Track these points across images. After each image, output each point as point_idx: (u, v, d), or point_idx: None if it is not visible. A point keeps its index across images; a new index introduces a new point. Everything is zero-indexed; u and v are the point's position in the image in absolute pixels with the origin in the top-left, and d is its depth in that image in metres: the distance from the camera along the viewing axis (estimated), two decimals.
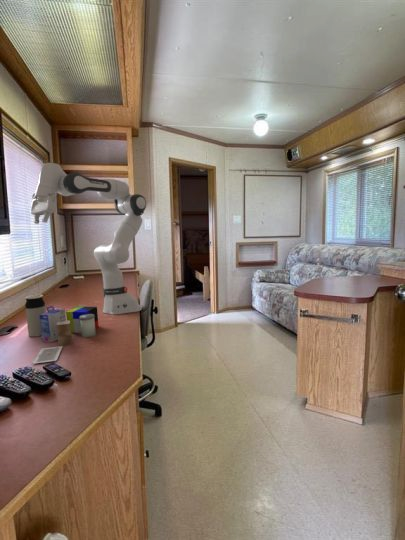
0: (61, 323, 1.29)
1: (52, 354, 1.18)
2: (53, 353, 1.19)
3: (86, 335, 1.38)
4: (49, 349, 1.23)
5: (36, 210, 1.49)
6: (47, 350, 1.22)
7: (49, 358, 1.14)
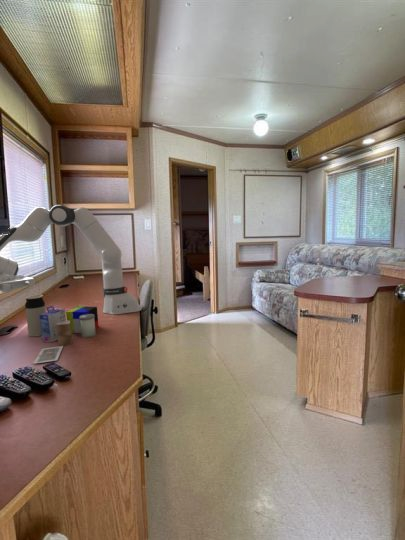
0: (61, 323, 1.29)
1: (52, 354, 1.18)
2: (53, 353, 1.19)
3: (86, 335, 1.38)
4: (50, 349, 1.23)
5: (20, 287, 1.55)
6: (48, 350, 1.22)
7: (49, 358, 1.14)
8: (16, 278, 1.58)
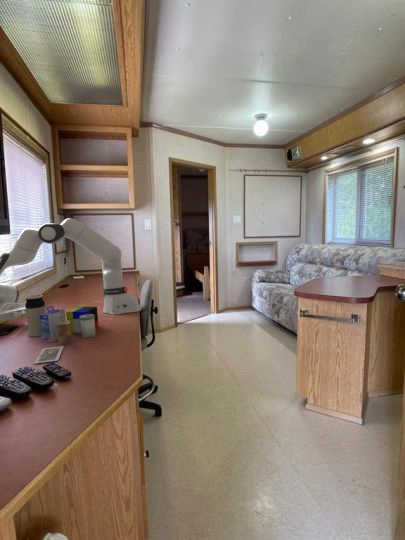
0: (61, 323, 1.29)
1: (53, 354, 1.18)
2: (54, 353, 1.19)
3: (86, 335, 1.38)
4: (50, 349, 1.23)
5: None
6: (48, 350, 1.22)
7: (50, 358, 1.14)
8: (19, 306, 1.60)
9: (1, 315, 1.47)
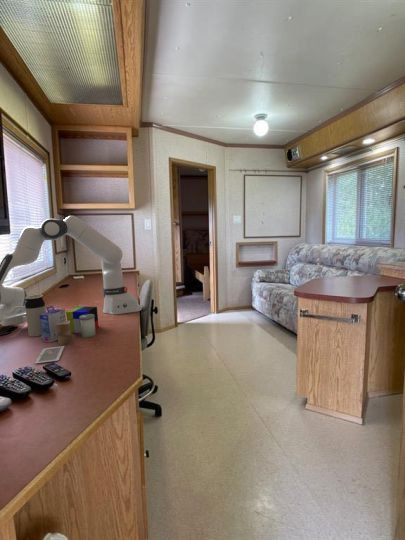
0: (61, 323, 1.29)
1: (53, 354, 1.18)
2: (55, 353, 1.19)
3: (86, 335, 1.38)
4: (51, 349, 1.23)
5: None
6: (49, 350, 1.22)
7: (51, 358, 1.14)
8: None
9: (10, 319, 1.43)
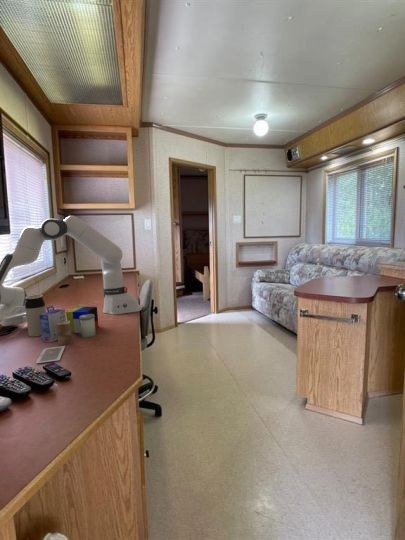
0: (61, 323, 1.29)
1: (54, 354, 1.18)
2: (55, 353, 1.19)
3: (86, 335, 1.38)
4: (52, 349, 1.23)
5: None
6: (50, 350, 1.22)
7: (52, 358, 1.14)
8: None
9: (10, 319, 1.43)
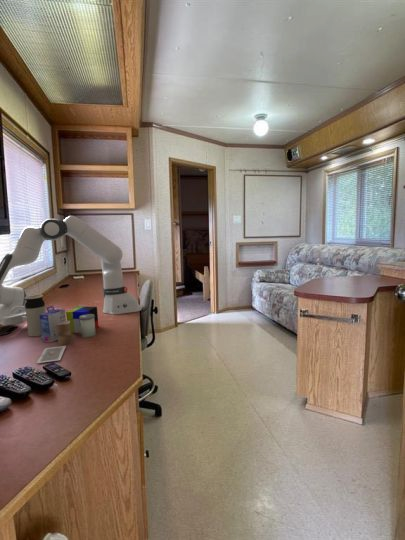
0: (61, 323, 1.29)
1: (55, 354, 1.18)
2: (56, 353, 1.19)
3: (86, 335, 1.38)
4: (53, 349, 1.23)
5: None
6: (51, 350, 1.22)
7: (52, 358, 1.14)
8: None
9: (10, 319, 1.43)
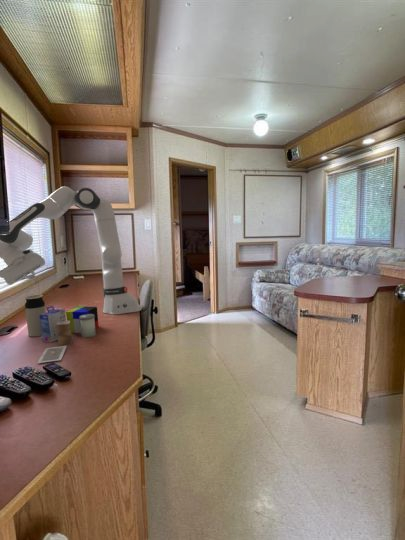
0: (61, 323, 1.29)
1: (56, 354, 1.18)
2: (57, 353, 1.19)
3: (86, 335, 1.38)
4: (53, 349, 1.24)
5: None
6: (51, 350, 1.23)
7: (53, 358, 1.14)
8: (26, 258, 1.58)
9: (13, 280, 1.51)
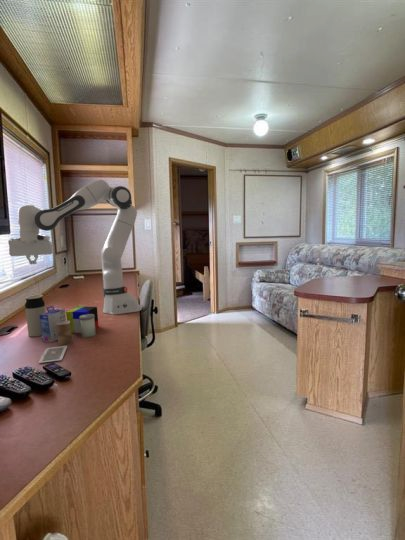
0: (61, 323, 1.29)
1: (57, 353, 1.18)
2: (58, 353, 1.19)
3: (86, 335, 1.38)
4: (54, 348, 1.24)
5: None
6: (52, 349, 1.23)
7: (54, 358, 1.14)
8: (37, 243, 1.58)
9: None
